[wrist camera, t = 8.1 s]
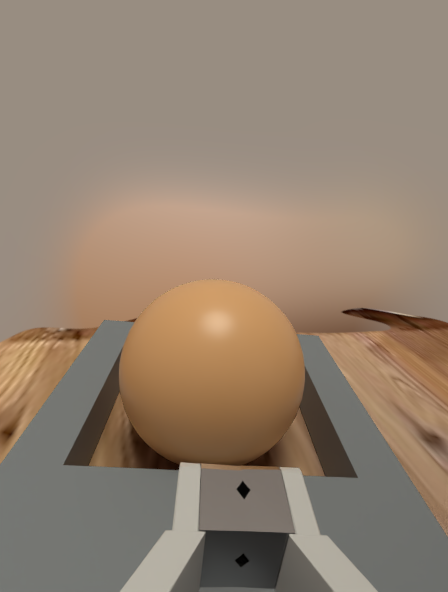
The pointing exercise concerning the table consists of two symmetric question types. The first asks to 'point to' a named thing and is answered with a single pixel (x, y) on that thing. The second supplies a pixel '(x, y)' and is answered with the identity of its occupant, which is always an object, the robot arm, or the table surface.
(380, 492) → the deck
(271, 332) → the ball
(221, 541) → the robot arm
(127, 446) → the table surface
